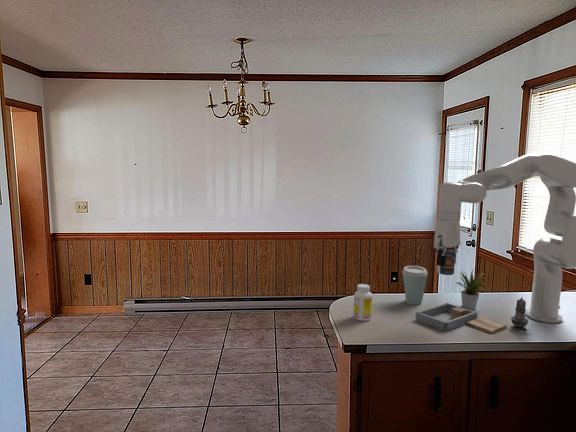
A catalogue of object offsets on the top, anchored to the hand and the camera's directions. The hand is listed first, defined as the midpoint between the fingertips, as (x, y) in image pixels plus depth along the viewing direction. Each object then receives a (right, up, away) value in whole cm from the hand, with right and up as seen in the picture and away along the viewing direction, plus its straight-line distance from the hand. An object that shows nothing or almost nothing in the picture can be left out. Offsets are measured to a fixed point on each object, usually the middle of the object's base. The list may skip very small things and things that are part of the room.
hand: (446, 263), depth 159 cm
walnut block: (+7, -22, +6) cm, 24 cm away
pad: (+15, -23, -1) cm, 27 cm away
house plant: (+16, -20, +20) cm, 32 cm away
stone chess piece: (+26, -24, -2) cm, 35 cm away
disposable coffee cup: (-5, -19, +24) cm, 31 cm away
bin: (+2, -22, +5) cm, 23 cm away
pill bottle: (0, -4, +1) cm, 4 cm away
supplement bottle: (-30, -21, +5) cm, 37 cm away
